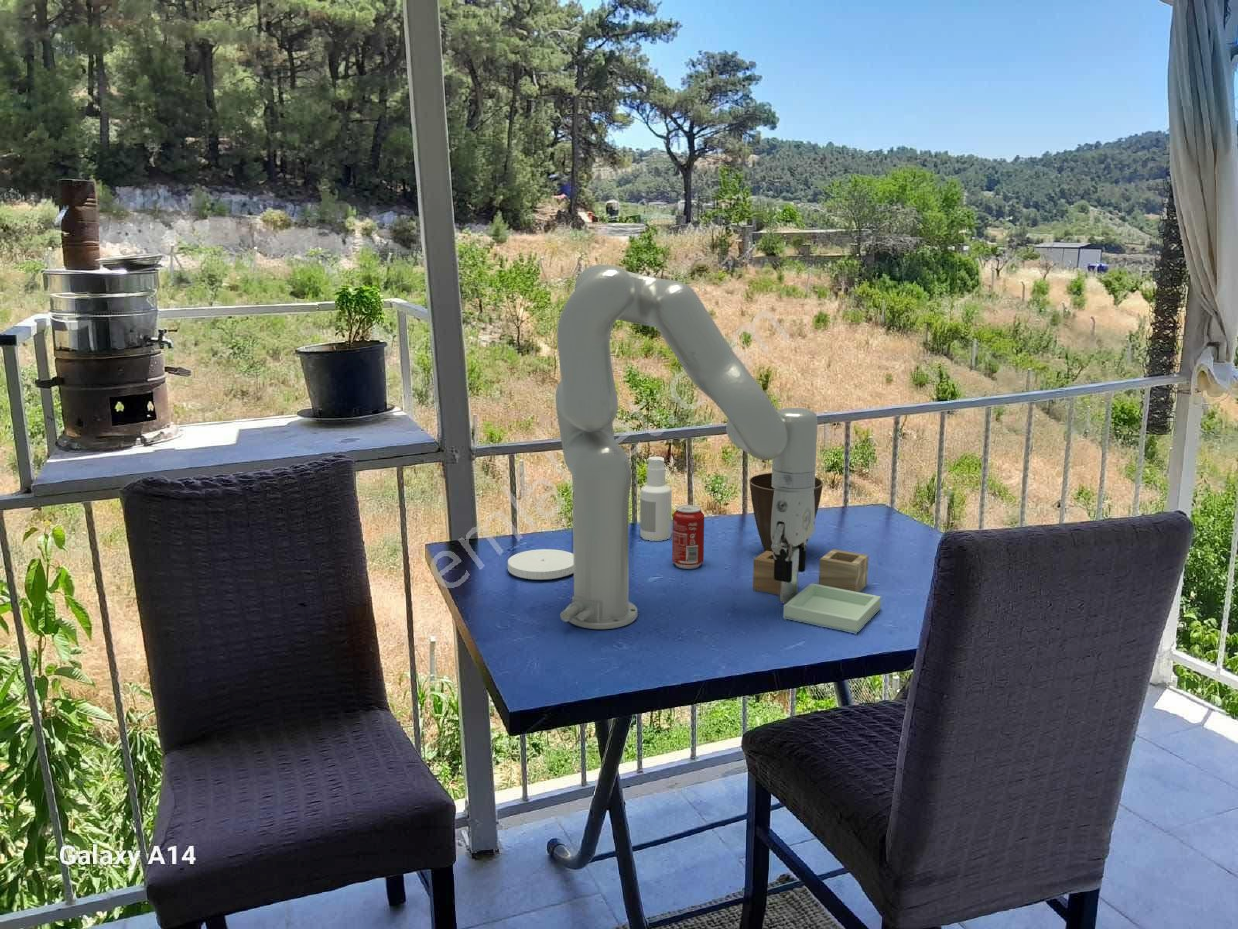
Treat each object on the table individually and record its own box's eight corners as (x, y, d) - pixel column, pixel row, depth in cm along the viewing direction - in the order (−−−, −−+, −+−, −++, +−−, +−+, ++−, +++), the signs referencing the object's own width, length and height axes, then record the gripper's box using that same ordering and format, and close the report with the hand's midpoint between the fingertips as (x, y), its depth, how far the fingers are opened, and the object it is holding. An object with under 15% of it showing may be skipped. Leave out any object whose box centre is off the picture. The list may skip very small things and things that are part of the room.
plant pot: (820, 569, 190) (824, 491, 186) (745, 564, 192) (747, 488, 188) (818, 546, 204) (822, 473, 200) (748, 542, 206) (750, 471, 203)
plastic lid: (531, 589, 180) (530, 577, 179) (495, 569, 191) (494, 557, 190) (592, 574, 188) (591, 562, 187) (554, 556, 199) (554, 544, 198)
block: (782, 595, 175) (783, 564, 174) (752, 589, 178) (753, 559, 177) (794, 585, 180) (796, 555, 179) (765, 580, 183) (766, 550, 182)
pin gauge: (793, 605, 170) (795, 552, 168) (777, 602, 172) (779, 549, 170) (799, 600, 173) (801, 547, 171) (784, 597, 174) (786, 545, 172)
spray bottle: (646, 531, 215) (646, 453, 211) (675, 534, 212) (675, 456, 208) (635, 539, 209) (636, 460, 205) (665, 543, 206) (666, 462, 202)
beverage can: (703, 560, 195) (704, 504, 192) (703, 570, 189) (704, 512, 186) (672, 559, 195) (673, 503, 193) (671, 569, 189) (672, 512, 187)
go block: (854, 596, 175) (856, 565, 173) (818, 589, 178) (819, 559, 177) (866, 585, 180) (868, 555, 179) (831, 578, 184) (832, 549, 183)
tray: (856, 634, 157) (857, 620, 157) (783, 619, 164) (783, 605, 164) (880, 609, 168) (881, 596, 168) (810, 596, 175) (811, 583, 174)
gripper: (794, 492, 158) (790, 594, 162) (830, 471, 172) (826, 566, 177) (753, 486, 162) (750, 586, 166) (791, 466, 176) (788, 559, 180)
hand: (789, 574), depth 171 cm, fingers open, 5 cm apart
